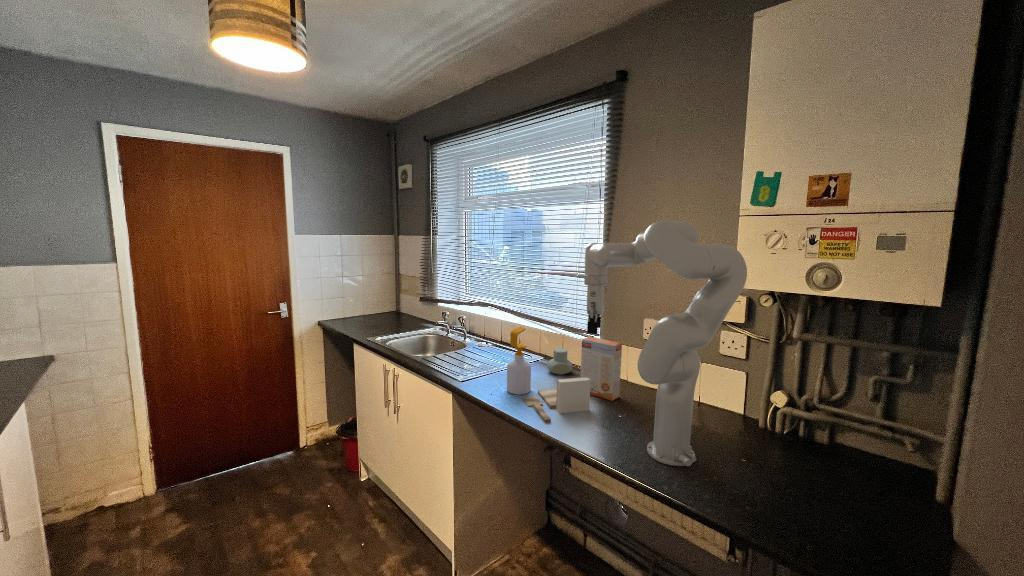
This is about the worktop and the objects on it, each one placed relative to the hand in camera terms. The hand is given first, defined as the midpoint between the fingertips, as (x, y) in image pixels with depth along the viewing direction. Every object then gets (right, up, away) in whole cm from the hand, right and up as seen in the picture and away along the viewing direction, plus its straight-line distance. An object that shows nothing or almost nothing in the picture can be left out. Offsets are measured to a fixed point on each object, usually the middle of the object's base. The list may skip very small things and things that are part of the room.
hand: (594, 330), depth 144 cm
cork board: (-9, -26, +12) cm, 30 cm away
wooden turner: (-19, -28, +2) cm, 34 cm away
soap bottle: (-25, -25, +19) cm, 40 cm away
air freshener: (-7, -23, +40) cm, 47 cm away
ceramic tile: (-7, -28, +2) cm, 29 cm away
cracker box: (+5, -26, +17) cm, 31 cm away
